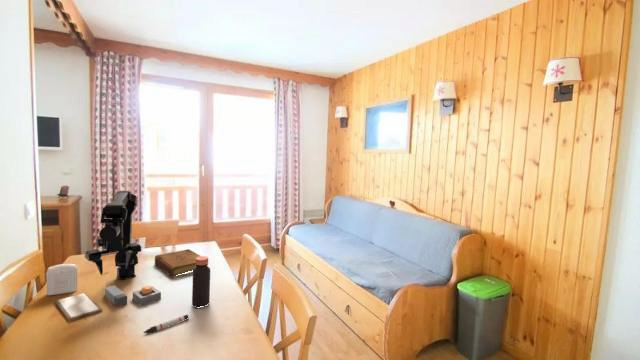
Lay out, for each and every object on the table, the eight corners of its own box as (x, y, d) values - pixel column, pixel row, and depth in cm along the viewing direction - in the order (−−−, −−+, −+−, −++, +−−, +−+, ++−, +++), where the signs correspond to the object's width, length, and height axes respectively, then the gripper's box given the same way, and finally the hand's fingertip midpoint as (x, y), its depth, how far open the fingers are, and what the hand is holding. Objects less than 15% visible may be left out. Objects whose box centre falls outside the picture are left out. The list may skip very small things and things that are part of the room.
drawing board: (85, 294, 132) (85, 292, 132) (101, 311, 120) (101, 308, 120) (55, 302, 124) (55, 300, 124) (69, 321, 112) (69, 318, 112)
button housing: (152, 292, 137) (152, 286, 137) (160, 299, 132) (160, 292, 132) (132, 298, 131) (132, 292, 131) (140, 305, 126) (140, 298, 126)
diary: (154, 265, 170) (154, 255, 169) (188, 258, 184) (188, 249, 183) (172, 278, 154) (172, 267, 154) (207, 269, 168) (207, 259, 168)
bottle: (190, 309, 125) (192, 261, 124) (193, 301, 132) (194, 255, 130) (208, 308, 127) (210, 260, 126) (209, 300, 134) (211, 255, 132)
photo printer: (78, 288, 138) (77, 261, 137) (77, 292, 134) (76, 264, 133) (47, 292, 132) (47, 264, 131) (45, 297, 128) (45, 268, 127)
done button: (149, 290, 134) (149, 285, 134) (153, 293, 132) (154, 288, 132) (139, 293, 131) (139, 288, 131) (143, 296, 129) (143, 291, 129)
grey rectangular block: (114, 293, 135) (114, 285, 135) (127, 304, 127) (127, 295, 126) (104, 295, 132) (104, 287, 132) (117, 307, 124) (117, 298, 124)
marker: (186, 318, 119) (186, 313, 119) (188, 320, 118) (188, 315, 118) (142, 334, 108) (142, 328, 107) (144, 336, 106) (144, 331, 106)
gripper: (131, 227, 139) (131, 261, 141) (80, 234, 125) (80, 271, 126) (142, 232, 133) (141, 268, 134) (89, 240, 118) (89, 280, 119)
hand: (114, 271), depth 128 cm, fingers open, 9 cm apart
